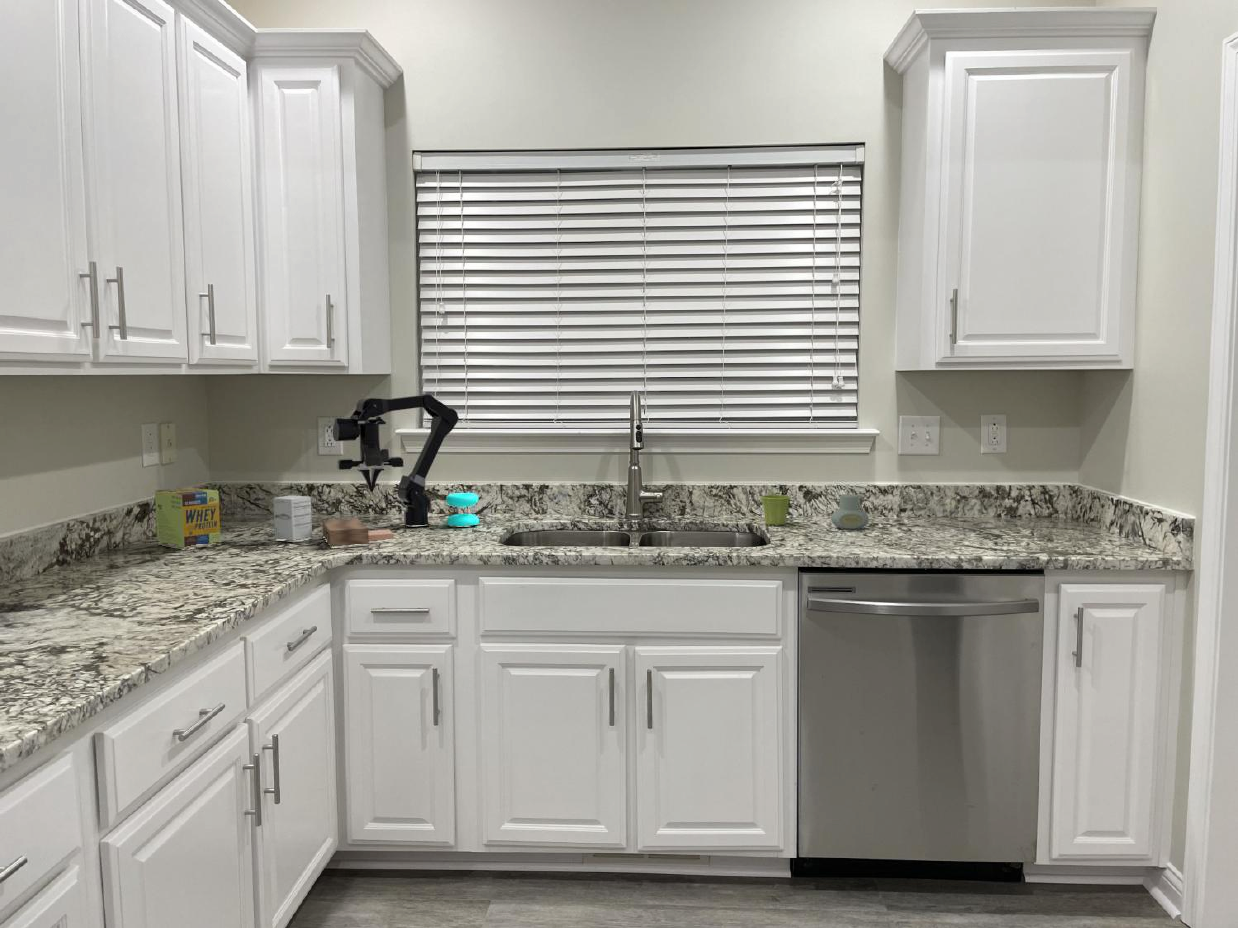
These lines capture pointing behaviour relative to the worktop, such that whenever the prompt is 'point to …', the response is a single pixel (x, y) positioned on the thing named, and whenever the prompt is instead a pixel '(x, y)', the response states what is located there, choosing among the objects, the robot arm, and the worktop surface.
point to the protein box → (187, 516)
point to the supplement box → (292, 517)
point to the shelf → (345, 532)
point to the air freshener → (849, 513)
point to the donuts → (462, 501)
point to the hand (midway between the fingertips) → (371, 491)
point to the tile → (380, 535)
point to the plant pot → (775, 508)
